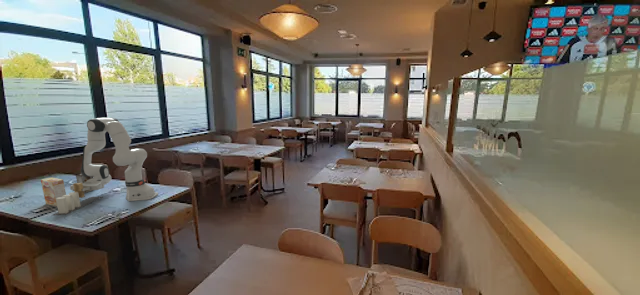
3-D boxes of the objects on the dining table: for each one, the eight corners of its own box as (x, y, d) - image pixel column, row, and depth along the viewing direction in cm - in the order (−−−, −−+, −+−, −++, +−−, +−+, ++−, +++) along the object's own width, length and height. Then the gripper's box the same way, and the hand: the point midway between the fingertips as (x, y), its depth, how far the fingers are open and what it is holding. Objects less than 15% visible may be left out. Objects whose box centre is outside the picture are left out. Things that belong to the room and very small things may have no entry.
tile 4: (68, 212, 187) (65, 197, 185) (66, 213, 185) (63, 198, 183) (61, 212, 187) (58, 197, 185) (58, 213, 185) (55, 198, 183)
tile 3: (74, 209, 192) (72, 194, 190) (72, 210, 190) (69, 195, 188) (67, 209, 192) (64, 194, 190) (65, 210, 190) (62, 195, 188)
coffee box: (89, 189, 233) (86, 172, 230) (95, 190, 232) (92, 172, 229) (78, 193, 225) (75, 175, 221) (84, 193, 223) (81, 175, 220)
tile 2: (80, 206, 197) (78, 192, 195) (78, 207, 195) (75, 193, 193) (73, 206, 197) (71, 192, 194) (71, 207, 195) (68, 193, 192)
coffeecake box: (45, 204, 202) (40, 179, 198) (57, 200, 209) (52, 177, 205) (56, 207, 197) (51, 182, 193) (68, 203, 203) (63, 179, 200)
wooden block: (84, 196, 201) (82, 182, 198) (82, 197, 199) (80, 183, 197) (77, 196, 200) (75, 182, 198) (75, 197, 198) (73, 183, 196)
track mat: (103, 197, 216) (103, 196, 215) (66, 215, 182) (66, 215, 182) (91, 197, 215) (91, 196, 215) (51, 216, 182) (51, 215, 182)
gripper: (78, 180, 210) (62, 186, 196) (105, 180, 211) (91, 186, 197) (79, 187, 211) (64, 194, 198) (106, 187, 212) (92, 194, 199)
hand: (77, 190), depth 198 cm, fingers closed on wooden block, 5 cm apart
